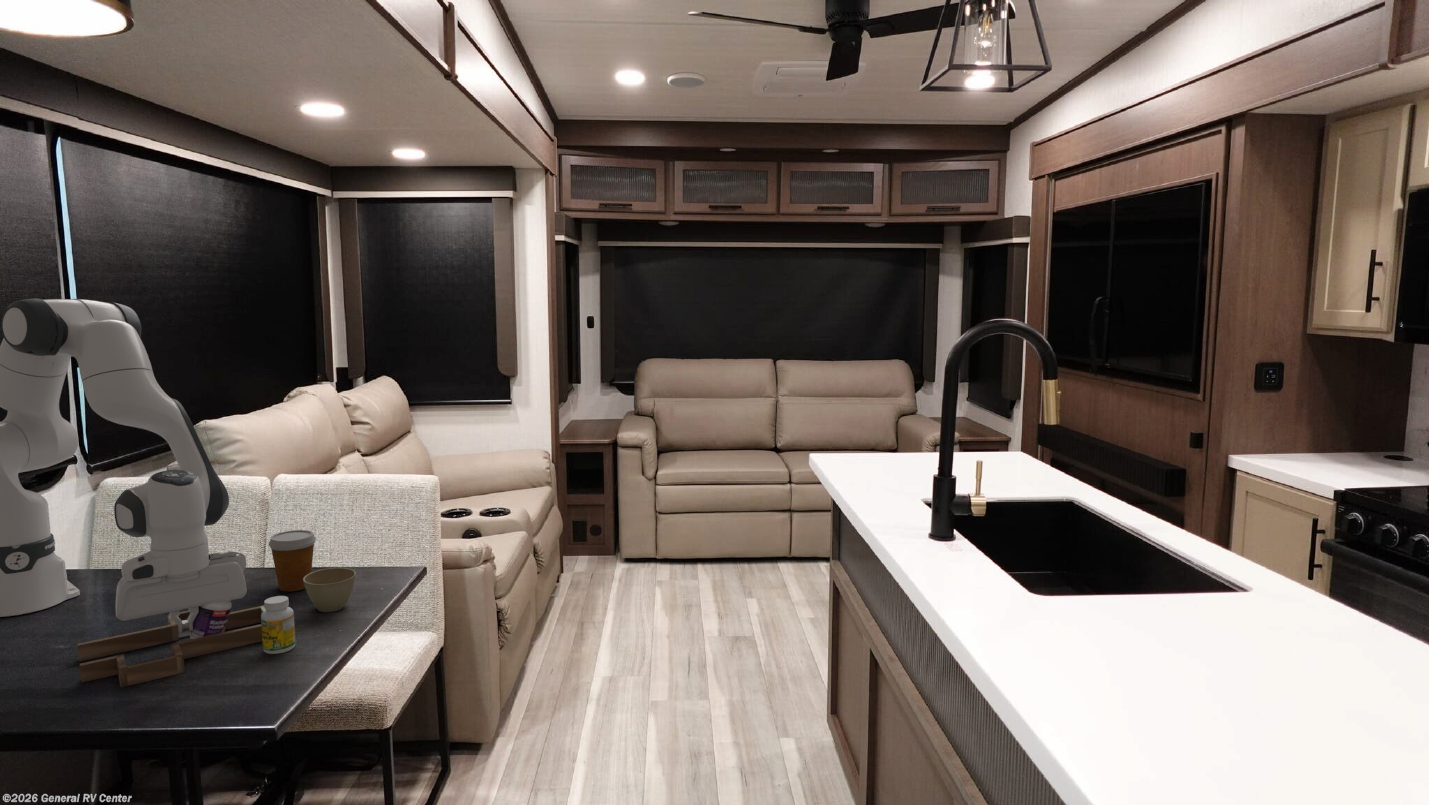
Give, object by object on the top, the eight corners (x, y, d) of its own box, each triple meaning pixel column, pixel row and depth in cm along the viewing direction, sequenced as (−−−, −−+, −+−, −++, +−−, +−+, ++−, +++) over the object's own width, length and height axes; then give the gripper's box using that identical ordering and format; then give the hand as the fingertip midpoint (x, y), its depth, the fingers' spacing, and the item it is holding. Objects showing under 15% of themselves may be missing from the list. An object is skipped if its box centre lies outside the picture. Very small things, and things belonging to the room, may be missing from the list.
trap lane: (77, 648, 148) (76, 632, 148) (259, 610, 167) (259, 596, 167) (82, 696, 131) (81, 679, 130) (285, 648, 150) (285, 632, 150)
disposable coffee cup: (304, 594, 176) (302, 542, 175) (261, 593, 176) (259, 541, 175) (326, 579, 186) (323, 529, 184) (285, 578, 186) (282, 528, 184)
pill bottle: (206, 646, 148) (221, 595, 149) (182, 638, 149) (196, 587, 149) (228, 640, 154) (242, 591, 154) (204, 632, 154) (218, 583, 155)
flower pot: (293, 612, 167) (292, 579, 166) (332, 596, 176) (331, 565, 175) (329, 620, 163) (327, 586, 162) (367, 603, 172) (366, 571, 171)
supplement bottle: (302, 645, 152) (299, 596, 150) (279, 656, 146) (276, 606, 145) (279, 640, 153) (276, 592, 152) (255, 652, 148) (253, 602, 147)
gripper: (242, 544, 156) (246, 612, 158) (111, 565, 143) (117, 638, 145) (248, 552, 151) (252, 622, 153) (113, 574, 138) (119, 650, 140)
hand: (185, 630), depth 149 cm, fingers closed
